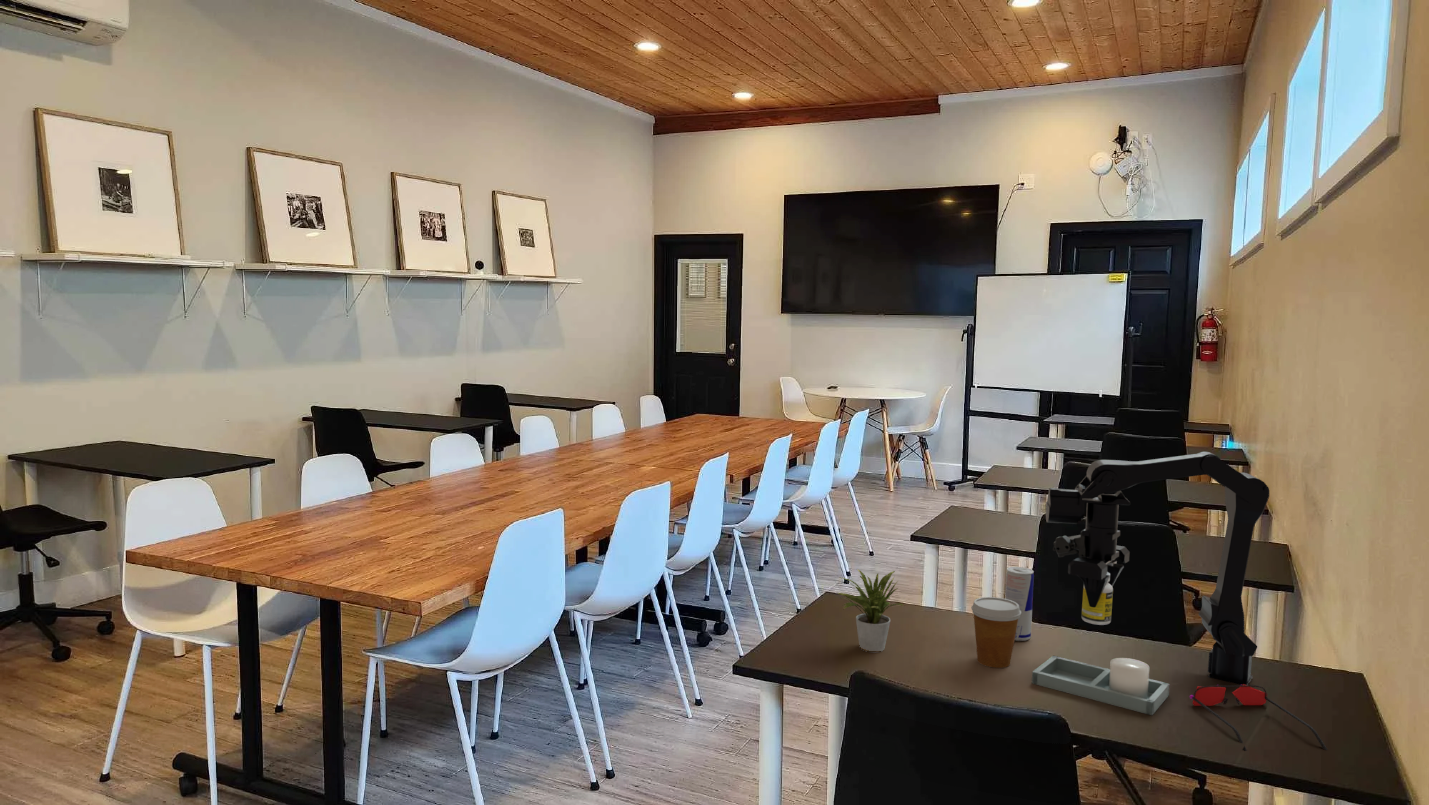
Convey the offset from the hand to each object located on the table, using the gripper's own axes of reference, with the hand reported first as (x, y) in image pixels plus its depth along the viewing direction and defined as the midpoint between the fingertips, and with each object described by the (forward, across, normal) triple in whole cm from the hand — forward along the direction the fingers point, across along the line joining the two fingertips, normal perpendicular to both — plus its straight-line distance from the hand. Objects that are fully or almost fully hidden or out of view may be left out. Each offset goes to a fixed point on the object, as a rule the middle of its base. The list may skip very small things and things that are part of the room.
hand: (1097, 603), depth 184 cm
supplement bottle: (+4, 0, 0) cm, 4 cm away
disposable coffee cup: (+13, +11, -16) cm, 23 cm away
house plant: (+13, +19, -39) cm, 45 cm away
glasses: (+14, +10, +30) cm, 34 cm away
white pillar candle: (+12, +13, +10) cm, 20 cm away
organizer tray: (+13, +13, +5) cm, 19 cm away
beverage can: (+13, -6, -18) cm, 23 cm away
